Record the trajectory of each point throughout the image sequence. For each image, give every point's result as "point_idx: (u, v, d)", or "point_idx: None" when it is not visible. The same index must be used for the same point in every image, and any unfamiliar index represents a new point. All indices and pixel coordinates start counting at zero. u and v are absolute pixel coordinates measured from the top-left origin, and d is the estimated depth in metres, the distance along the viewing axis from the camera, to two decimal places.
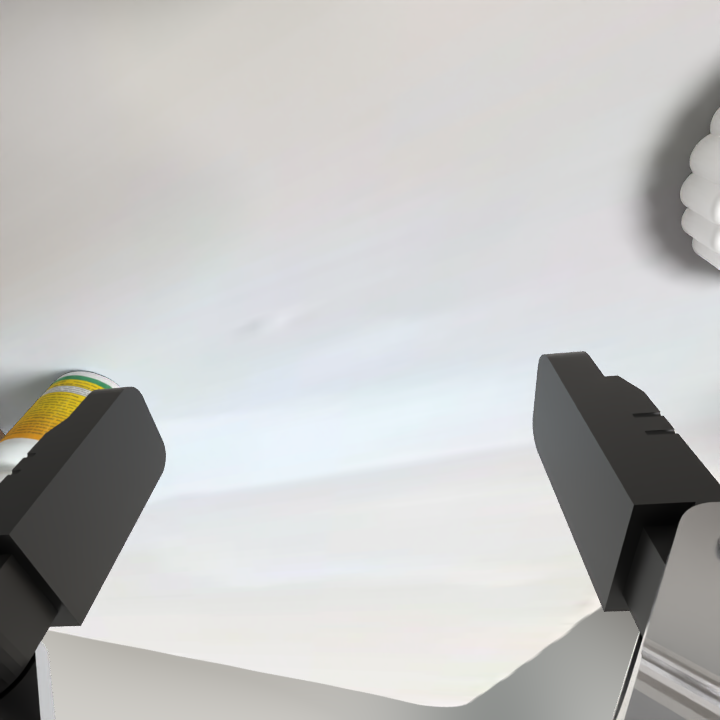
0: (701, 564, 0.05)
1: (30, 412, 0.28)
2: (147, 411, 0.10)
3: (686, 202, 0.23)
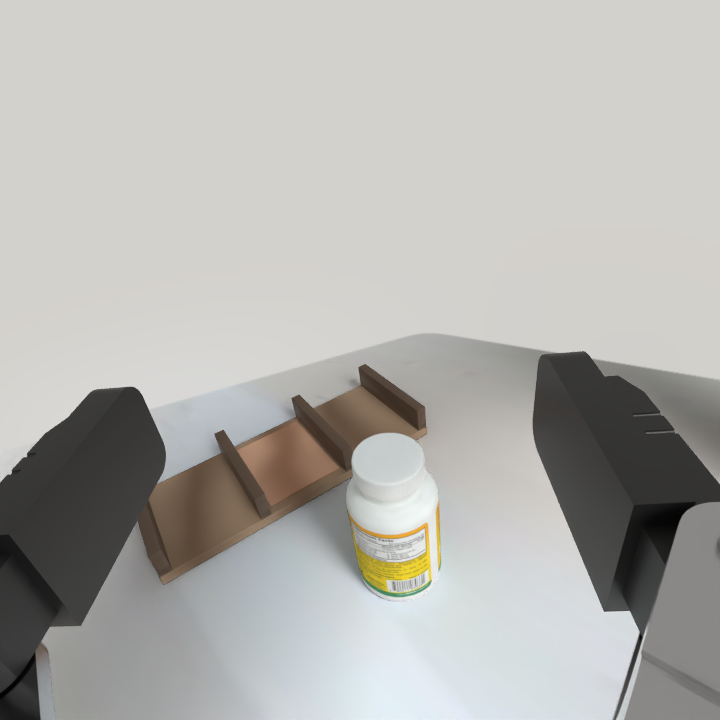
0: (701, 564, 0.05)
1: None
2: (147, 411, 0.10)
3: None
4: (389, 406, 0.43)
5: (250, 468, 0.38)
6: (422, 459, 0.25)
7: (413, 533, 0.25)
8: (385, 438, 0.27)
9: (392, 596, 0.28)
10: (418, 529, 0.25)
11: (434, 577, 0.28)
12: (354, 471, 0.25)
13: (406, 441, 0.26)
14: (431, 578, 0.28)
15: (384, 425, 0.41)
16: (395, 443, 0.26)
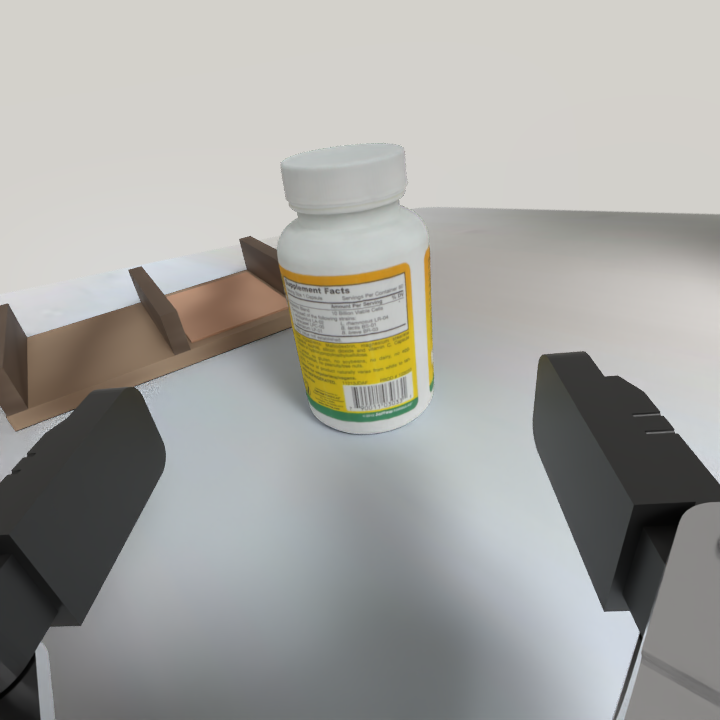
0: (701, 564, 0.05)
1: None
2: (147, 411, 0.10)
3: None
4: None
5: None
6: (401, 149, 0.14)
7: (383, 276, 0.14)
8: (342, 147, 0.16)
9: (354, 421, 0.17)
10: (392, 270, 0.14)
11: (423, 397, 0.18)
12: (283, 168, 0.14)
13: (376, 144, 0.16)
14: (417, 393, 0.17)
15: None
16: (357, 148, 0.16)
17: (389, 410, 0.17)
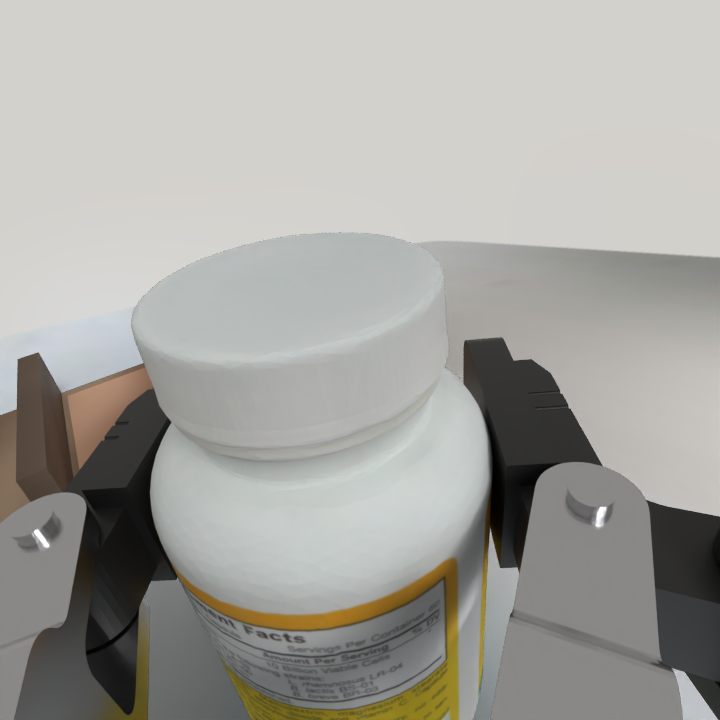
0: (555, 520, 0.05)
1: None
2: None
3: None
4: None
5: (79, 425, 0.19)
6: (438, 278, 0.06)
7: (393, 605, 0.06)
8: (298, 243, 0.07)
9: None
10: (415, 588, 0.06)
11: None
12: None
13: (373, 243, 0.07)
14: None
15: None
16: (331, 250, 0.07)
17: None
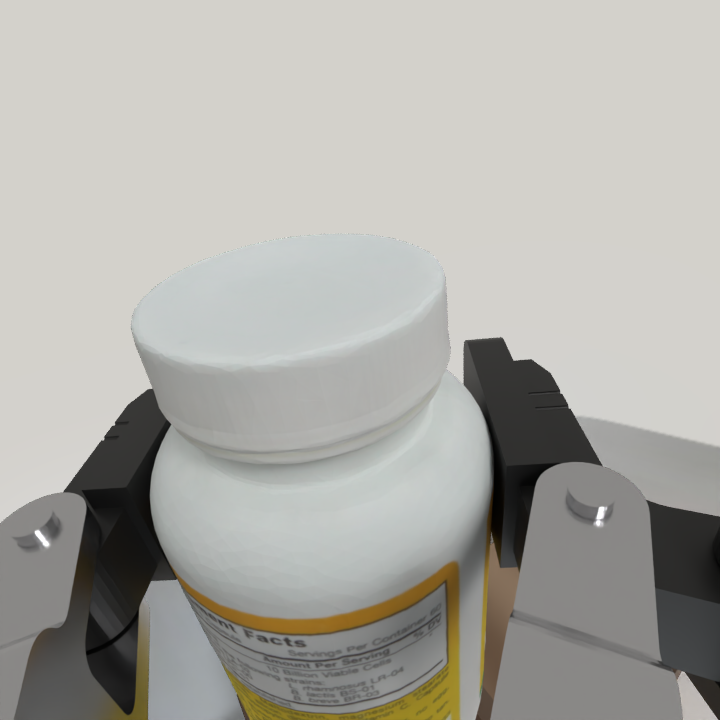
0: (554, 520, 0.05)
1: None
2: None
3: None
4: None
5: None
6: (440, 280, 0.06)
7: (394, 610, 0.06)
8: (299, 244, 0.07)
9: None
10: (416, 591, 0.06)
11: None
12: None
13: (374, 244, 0.07)
14: None
15: None
16: (332, 251, 0.07)
17: None
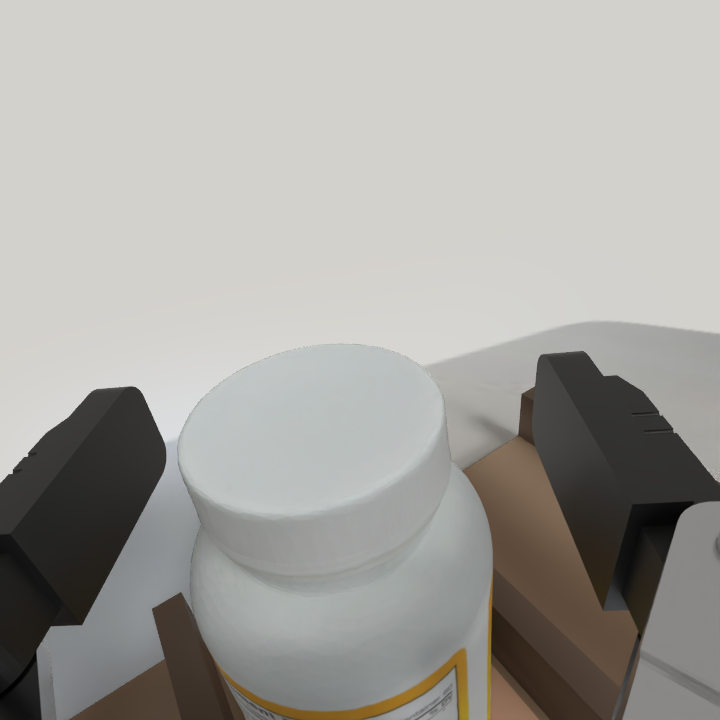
0: (699, 563, 0.05)
1: None
2: (148, 411, 0.10)
3: None
4: None
5: None
6: (440, 410, 0.07)
7: (413, 696, 0.06)
8: (313, 358, 0.08)
9: None
10: (431, 680, 0.07)
11: None
12: None
13: (380, 361, 0.08)
14: None
15: None
16: (343, 369, 0.08)
17: None
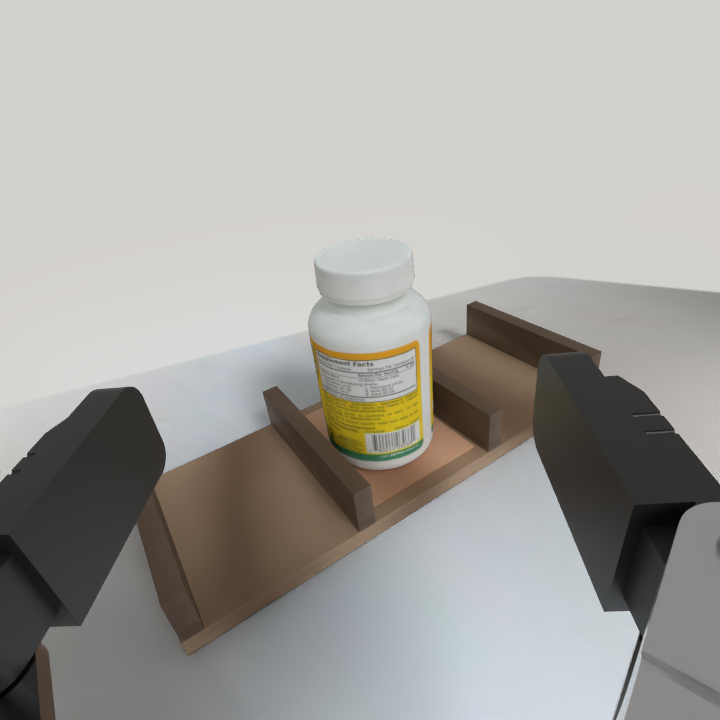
0: (701, 564, 0.05)
1: None
2: (147, 411, 0.10)
3: None
4: (523, 358, 0.28)
5: None
6: (410, 252, 0.18)
7: (399, 352, 0.18)
8: (359, 242, 0.20)
9: (373, 460, 0.21)
10: (406, 347, 0.18)
11: (427, 438, 0.22)
12: (318, 269, 0.18)
13: (387, 242, 0.20)
14: (423, 436, 0.21)
15: (525, 384, 0.26)
16: (372, 244, 0.20)
17: (401, 451, 0.21)
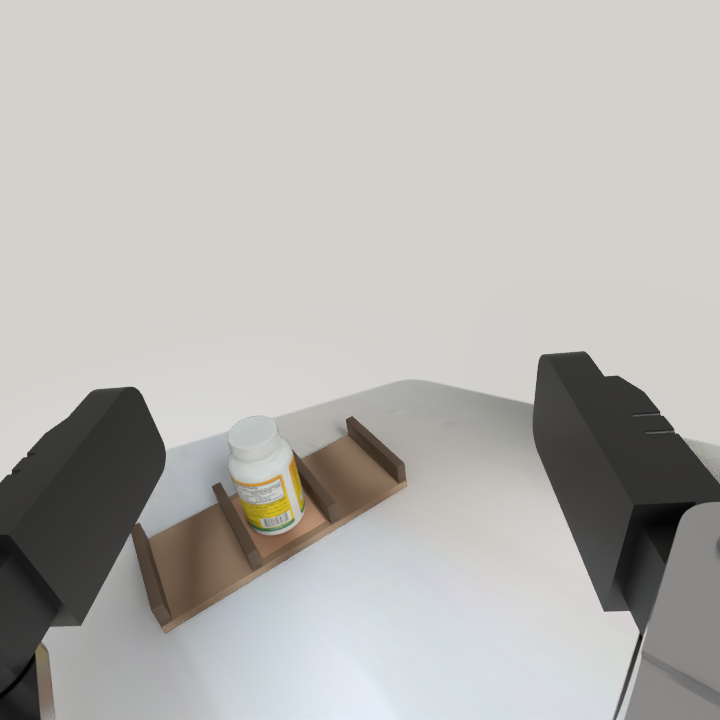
0: (701, 564, 0.05)
1: None
2: (147, 411, 0.10)
3: None
4: (373, 458, 0.46)
5: (244, 519, 0.42)
6: (275, 431, 0.37)
7: (270, 481, 0.37)
8: (253, 419, 0.38)
9: (266, 531, 0.39)
10: (274, 479, 0.37)
11: (297, 517, 0.40)
12: (228, 442, 0.37)
13: (267, 420, 0.38)
14: (293, 517, 0.40)
15: (368, 477, 0.45)
16: (259, 422, 0.38)
17: (281, 526, 0.39)
